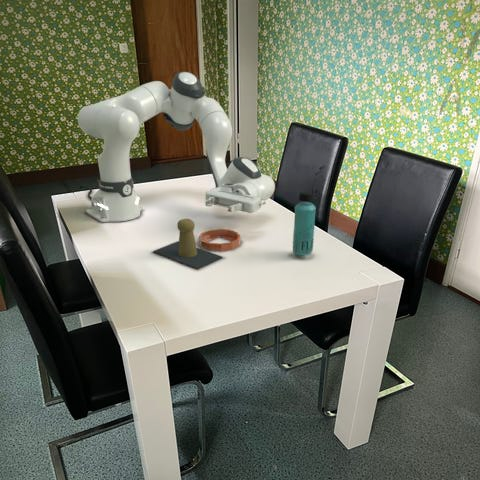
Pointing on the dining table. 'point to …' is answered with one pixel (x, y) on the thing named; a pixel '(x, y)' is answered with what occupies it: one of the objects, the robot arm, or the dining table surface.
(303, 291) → the dining table surface
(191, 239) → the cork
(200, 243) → the orange ring
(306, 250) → the beverage bottle
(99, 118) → the robot arm
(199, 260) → the mat
